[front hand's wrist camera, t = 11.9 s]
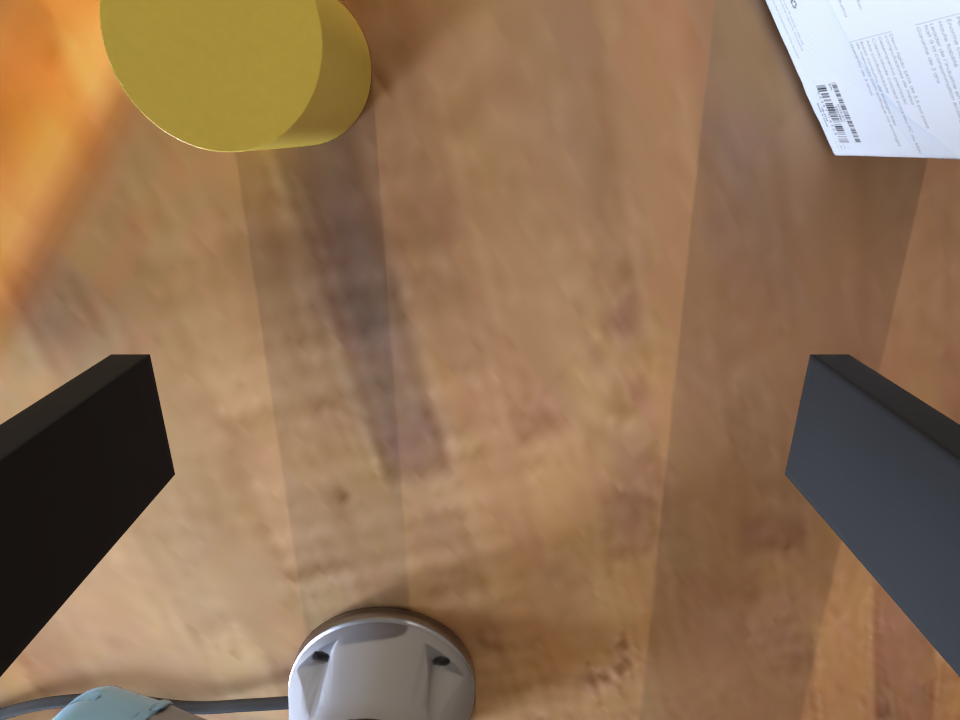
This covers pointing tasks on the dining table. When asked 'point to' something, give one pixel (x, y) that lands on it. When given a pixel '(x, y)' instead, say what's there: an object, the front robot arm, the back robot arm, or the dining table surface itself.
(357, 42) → the canister
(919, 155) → the hard drive box
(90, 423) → the front robot arm
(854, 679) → the dining table surface
